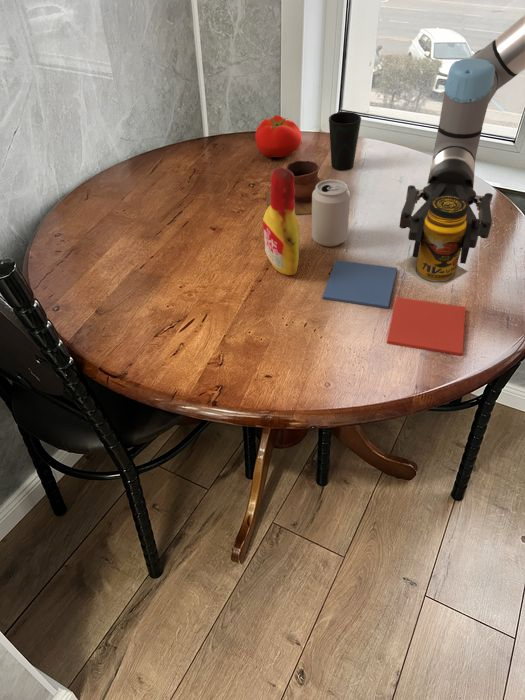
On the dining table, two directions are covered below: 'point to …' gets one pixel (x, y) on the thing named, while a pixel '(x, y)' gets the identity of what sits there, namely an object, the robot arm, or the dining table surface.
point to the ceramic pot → (302, 185)
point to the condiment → (440, 243)
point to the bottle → (282, 224)
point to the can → (330, 212)
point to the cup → (343, 139)
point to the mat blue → (360, 284)
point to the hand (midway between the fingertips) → (440, 252)
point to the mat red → (427, 326)
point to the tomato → (277, 137)
